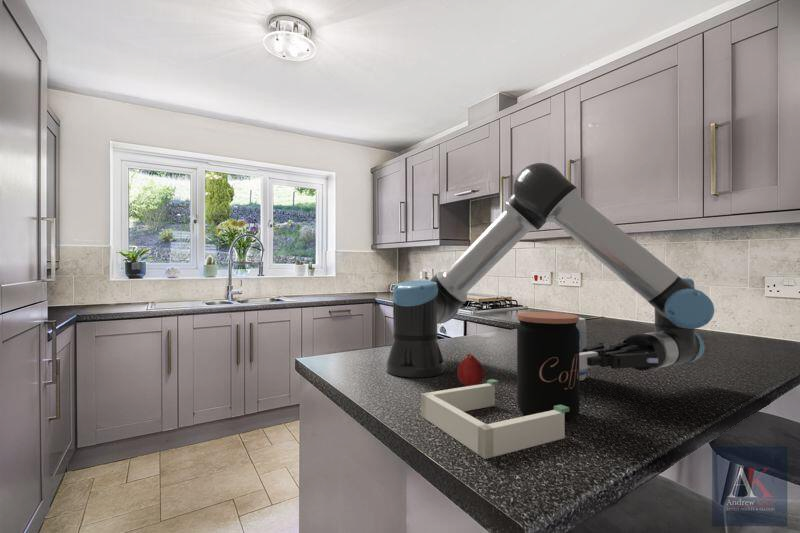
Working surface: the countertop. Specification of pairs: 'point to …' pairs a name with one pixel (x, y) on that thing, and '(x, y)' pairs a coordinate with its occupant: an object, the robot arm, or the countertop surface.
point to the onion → (470, 371)
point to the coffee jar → (548, 363)
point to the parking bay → (494, 437)
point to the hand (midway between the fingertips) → (571, 362)
